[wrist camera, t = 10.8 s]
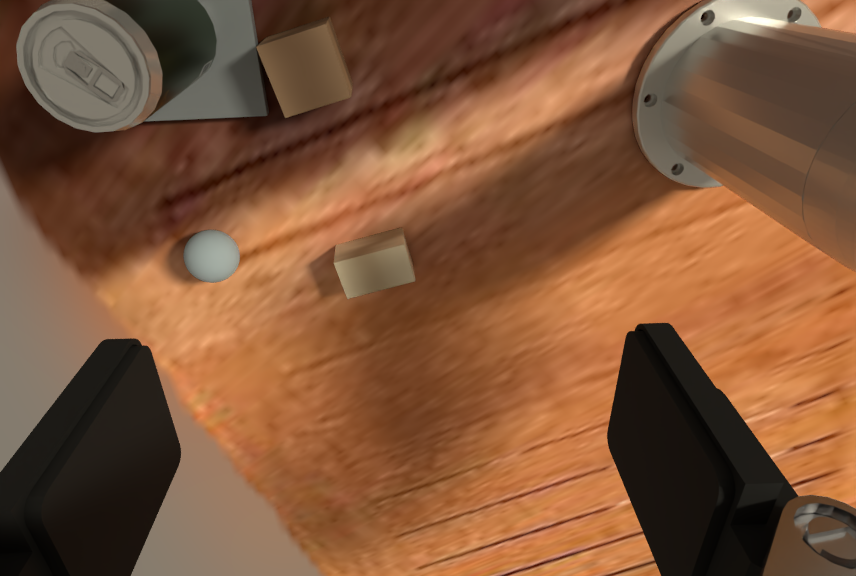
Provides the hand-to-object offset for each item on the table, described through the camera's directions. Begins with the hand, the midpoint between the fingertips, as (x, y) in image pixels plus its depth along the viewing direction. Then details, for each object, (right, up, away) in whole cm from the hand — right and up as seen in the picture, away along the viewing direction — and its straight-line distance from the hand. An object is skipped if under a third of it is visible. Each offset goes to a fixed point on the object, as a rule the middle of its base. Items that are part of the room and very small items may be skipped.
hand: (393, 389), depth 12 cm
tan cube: (-7, +16, +24) cm, 30 cm away
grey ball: (-14, +4, +28) cm, 32 cm away
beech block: (-3, +5, +31) cm, 32 cm away
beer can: (-14, +17, +22) cm, 31 cm away
